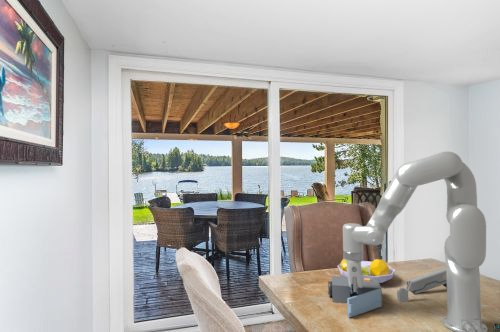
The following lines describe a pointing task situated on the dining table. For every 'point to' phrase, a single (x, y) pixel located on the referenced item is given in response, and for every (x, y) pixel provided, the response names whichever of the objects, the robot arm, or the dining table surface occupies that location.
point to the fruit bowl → (371, 270)
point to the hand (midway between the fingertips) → (354, 303)
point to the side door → (364, 302)
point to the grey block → (342, 290)
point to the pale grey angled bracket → (404, 292)
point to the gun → (429, 281)
